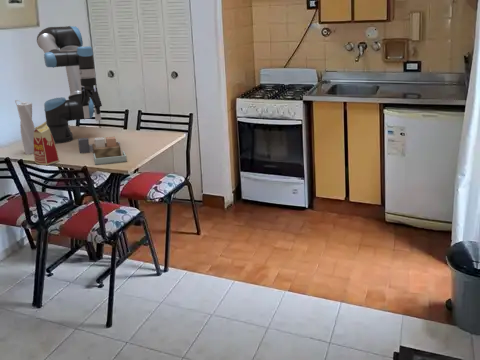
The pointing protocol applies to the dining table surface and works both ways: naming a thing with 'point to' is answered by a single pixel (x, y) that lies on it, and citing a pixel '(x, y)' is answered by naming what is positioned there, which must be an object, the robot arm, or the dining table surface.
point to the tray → (110, 159)
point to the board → (107, 151)
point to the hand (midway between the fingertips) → (92, 119)
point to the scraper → (85, 145)
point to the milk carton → (44, 146)
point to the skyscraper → (26, 126)
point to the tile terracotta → (110, 141)
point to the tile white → (99, 142)
